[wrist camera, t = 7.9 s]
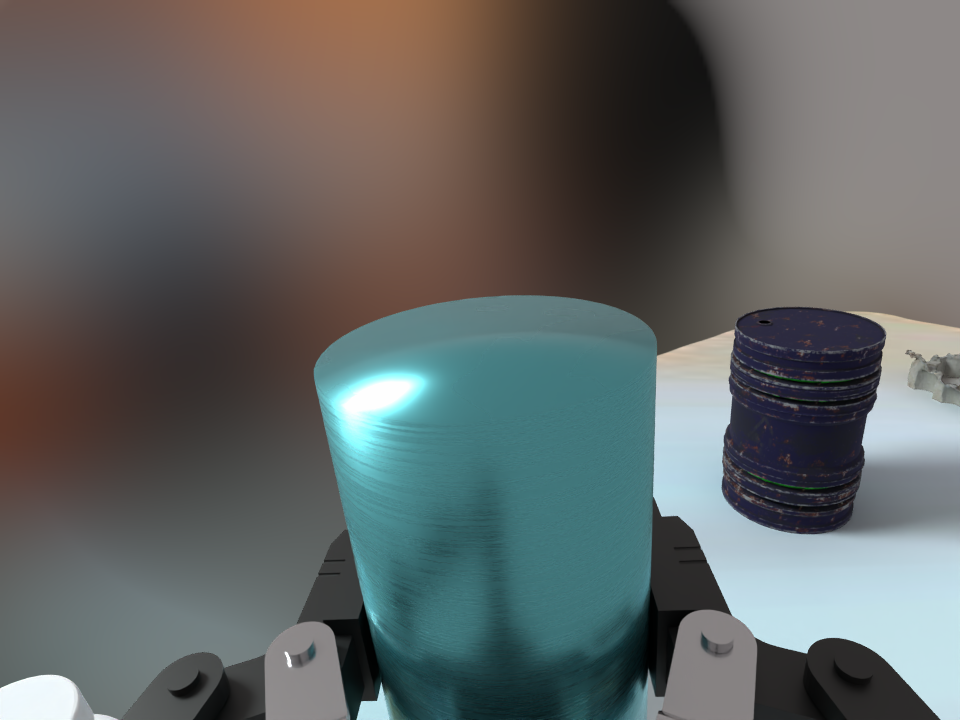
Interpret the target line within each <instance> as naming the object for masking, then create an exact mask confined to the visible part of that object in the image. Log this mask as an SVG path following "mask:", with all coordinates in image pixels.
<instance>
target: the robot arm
mask: <svg viewBox="0 0 960 720" xmlns="http://www.w3.org/2000/svg"><path fill="white" fill-rule="evenodd" d="M318 574H319V576H318V577H317V578H316V580H315V583H314V585H313V588H312V590H311V592H310V594H309V597H308V599H307V601H306V604H305V606H304V608H303V610H302V613H301V615H300V617H299V620H298V622H297V624H296V625H294V626H292V627H291V628H288V629H286V630H285V631H284V632H282V633H281V634H280V635H279V636H277V637H276V638H275V640H274V641H273V642H272V643H271V645H270V646H269V648H268V650H267V652H266V654H265V655H263V656H261V657H258V658H255V659H252V660H249V661H245V662H242V663H239V664H236V665H232V666H229V667H226V668H224V667H223V664H222V662H221V660H220V659H219V657H218V656H216V655H214V654H211V653H204V652H202V653H195V654H191V655H188V656H185V657H183V658H181V659H179V660H177V661H175V662H174V663H172V664H170V665H169V666H168V667H166V668H165V669H164V670H163V671H162V672H161V673H160V674H159V675H158V676H157V677H156V678H155V679H154V680H153V681H152V683H151V684H150V685H149V686H148V688H147V689H146V690H145V691H144V692H143V694H142V695H141V696H140V697H139V698H138V700H137V701H136V702H135V703H134V704H133V706H132V707H131V708H130V709H129V710H128V712H127V713H126V714H125V715H124V716H123V718H122V719H121V720H356V719H357V715H358V711H359V707H360V704H361V701H377V698H378V694H379V690H380V685H381V678H380V673H379V669H378V664H377V659H376V655H375V650H374V646H373V641H372V637H371V632H370V628H369V623H368V619H367V614H366V610H365V605H364V601H363V596H362V592H361V587H360V583H359V578H358V574H357V569H356V565H355V560H354V556H353V551H352V547H351V542H350V538H349V533H348V530H344V531H343V532H342V534H340V536H339V537H338V538H337V539H336V540H335V541H334V542H333V543H332V544H331V545H330V548H329V550H328V552H327V555H326V557H325V559H324V563H323V564H322V566H321V569H320V571H319V573H318ZM648 670H649V674H650V677H651V681H652V685H653V689H654V693H655V697H664V702H663V707H662V710H661V711H660V710H659V711H658V714H657V717H656V720H940V719H939V718H938V716H937V715H936V714H935V713H934V712H933V711H932V710H931V709H930V708H929V707H928V706H927V705H926V704H925V702H924V701H923V700H922V699H921V698H920V697H919V696H918V695H917V694H916V693H915V692H914V691H913V690H912V688H911V687H910V686H909V685H908V684H907V683H906V682H905V681H904V680H903V679H902V678H901V677H900V675H899V674H898V673H897V672H896V671H895V670H894V669H893V668H892V667H891V666H890V665H889V664H888V663H887V662H886V661H885V660H884V659H883V658H882V657H881V656H879V655H878V654H877V653H875V652H874V651H872V650H871V649H869V648H867V647H865V646H863V645H861V644H858V643H856V642H853V641H850V640H846V639H840V638H826V639H822V640H819V641H817V642H815V643H814V644H813V645H811V647H810V648H809V650H808V653H807V654H806V653H801V652H797V651H793V650H789V649H785V648H780V647H777V646H773V645H770V644H767V643H765V642H762V641H761V640H759V639H757V638H755V637H754V636H753V634H752V632H751V631H750V630H749V629H748V628H747V626H746V625H745V624H743V623H742V622H741V621H740V620H738V619H736V618H735V617H733V616H732V614H731V612H730V610H729V608H728V606H727V604H726V601H725V599H724V597H723V595H722V593H721V590H720V588H719V586H718V584H717V582H716V579H715V577H714V575H713V573H712V571H711V568H710V566H709V564H708V563H707V560H706V557H705V555H704V553H703V551H702V550H701V546H700V544H699V542H698V540H697V538H696V535H695V533H694V531H693V529H691V528H690V527H689V526H688V525H687V524H686V523H685V522H684V521H683V520H681V519H680V518H679V517H678V516H668V517H661V514H660V512H659V509H658V507H657V504H656V501H655V499H654V497H653V511H652V548H651V586H650V623H649V660H648Z"/></svg>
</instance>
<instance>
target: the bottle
mask: <svg viewBox="0 0 960 720" xmlns="http://www.w3.org/2000/svg"><path fill="white" fill-rule="evenodd" d="M656 362H657V343H656V337H655V335H654V334H653V331H652V330H651V329H650V328H649V327H648V326H647V324H645V323H644V322H643V321H641V320H640V319H639V318H637V317H635V316H633V315H631V314H629V313H627V312H625V311H622V310H620V309H617V308H615V307H611V306H608V305H604V304H600V303H595V302H591V301H586V300H580V299H573V298H564V297H552V296H524V295H522V296H495V297H482V298H471V299H464V300H456V301H450V302H444V303H438V304H433V305H428V306H423V307H419V308H415V309H411V310H407V311H404V312H401V313H397V314H394V315H390V316H387V317H384V318H382V319H379V320H376V321H374V322H371V323H369V324H366V325H364V326H362V327H360V328H358V329H356V330H354V331H352V332H350V333H348V334H346V335H345V336H343V337H342V338H340V339H338V340H337V341H336V342H334V343H333V344H332V345H330V346H329V347H328V348H327V349H326V350H325V351H324V352H323V353H322V355H321V356H320V358H319V359H318V360H317V362H316V365H315V369H314V379H315V384H316V388H317V393H318V397H319V402H320V407H321V411H322V416H323V420H324V425H325V429H326V434H327V438H328V443H329V447H330V452H331V456H332V461H333V465H334V470H335V474H336V479H337V483H338V487H339V492H340V497H341V501H342V506H343V510H344V515H345V520H346V524H347V529H348V533H349V538H350V542H351V547H352V551H353V556H354V560H355V565H356V569H357V574H358V578H359V583H360V587H361V592H362V596H363V601H364V605H365V610H366V614H367V619H368V623H369V628H370V632H371V637H372V641H373V646H374V650H375V655H376V659H377V664H378V669H379V673H380V678H381V682H382V687H383V691H384V696H385V700H386V705H387V709H388V714H389V718H390V720H647V698H648V660H649V623H650V586H651V548H652V511H653V474H654V436H655V399H656Z"/></svg>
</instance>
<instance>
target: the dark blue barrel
mask: <svg viewBox="0 0 960 720" xmlns="http://www.w3.org/2000/svg"><path fill="white" fill-rule="evenodd" d="M735 337H736V338H735V339H734V346H733V351H732V353H731V363H730V370H731V375H730V377H729V384H730V392H731V394H732V395H733V396H732V407H731V419H730V424H729V425H728V427H727V429H726V433H725V435H724V449H723V460H722V463H723V474H724V476H723V480H722V492H723V495H724V497H725V499H726V500H727V502H728V503H729V504H730V505H731V506H732V507H733V508H734V509H735V510H736V511H737V512H739V513H740V514H741V515H743V516H745V517H746V518H748V519H750V520H752V521H754V522H756V523H758V524H760V525H763V526H766V527H769V528H772V529H776V530H779V531H784V532H790V533H798V534H818V533H825V532H829V531H833V530H836V529H838V528H840V527H842V526H843V525H845V524H846V523H847V522H848V521H849V520H850V518H851V515H852V511H853V501H854V499H855V496H856V492H857V490H858V488H859V485H860V480H861V473H862V468H863V466H864V462H865V459H864V449H863V446H862V445H861V444H862V439H863V434H864V429H865V423H866V418H867V414H868V413H869V412H870V411H871V410H872V408H873V405H874V403H875V401H876V399H877V393H876V390H877V387H878V385H879V381H880V376H881V369H882V367H881V360H882V349H883V347H884V345H885V339H886V331H885V329H884V328H883V327H882V326H881V325H879V324H878V323H876V322H874V321H872V320H870V319H867V318H864V317H862V316H859V315H855V314H851V313H847V312H842V311H837V310H830V309H822V308H810V307H777V308H768V309H762V310H757V311H752V312H750V313H747V314H744V315H742V316H741V317H739V318H738V319H737V321H736V323H735Z"/></svg>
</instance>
